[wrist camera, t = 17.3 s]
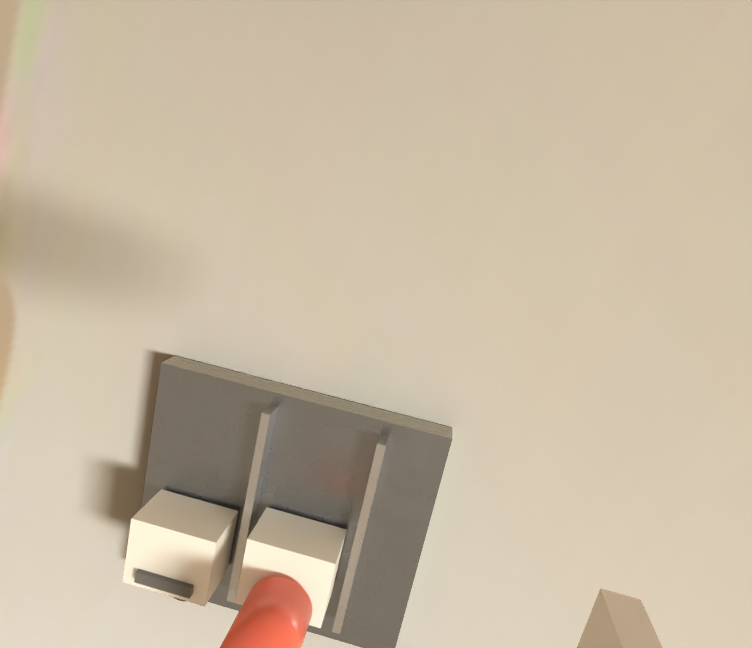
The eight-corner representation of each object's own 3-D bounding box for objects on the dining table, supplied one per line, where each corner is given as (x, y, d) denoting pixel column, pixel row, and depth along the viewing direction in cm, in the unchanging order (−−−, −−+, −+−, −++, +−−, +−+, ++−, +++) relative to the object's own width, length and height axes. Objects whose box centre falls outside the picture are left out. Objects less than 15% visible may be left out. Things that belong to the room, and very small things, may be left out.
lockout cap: (255, 567, 36) (211, 646, 30) (319, 589, 36) (289, 673, 29) (241, 623, 37) (196, 711, 31) (303, 644, 37) (271, 738, 30)
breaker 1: (161, 489, 41) (127, 521, 37) (238, 511, 41) (213, 546, 36) (152, 547, 42) (119, 585, 38) (227, 569, 42) (202, 610, 38)
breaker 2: (266, 507, 40) (245, 542, 36) (346, 529, 40) (334, 568, 36) (255, 566, 41) (232, 607, 37) (333, 588, 41) (319, 632, 37)
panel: (174, 355, 41) (149, 368, 38) (452, 427, 40) (452, 448, 36) (144, 563, 45) (119, 592, 42) (395, 636, 44) (390, 673, 40)
